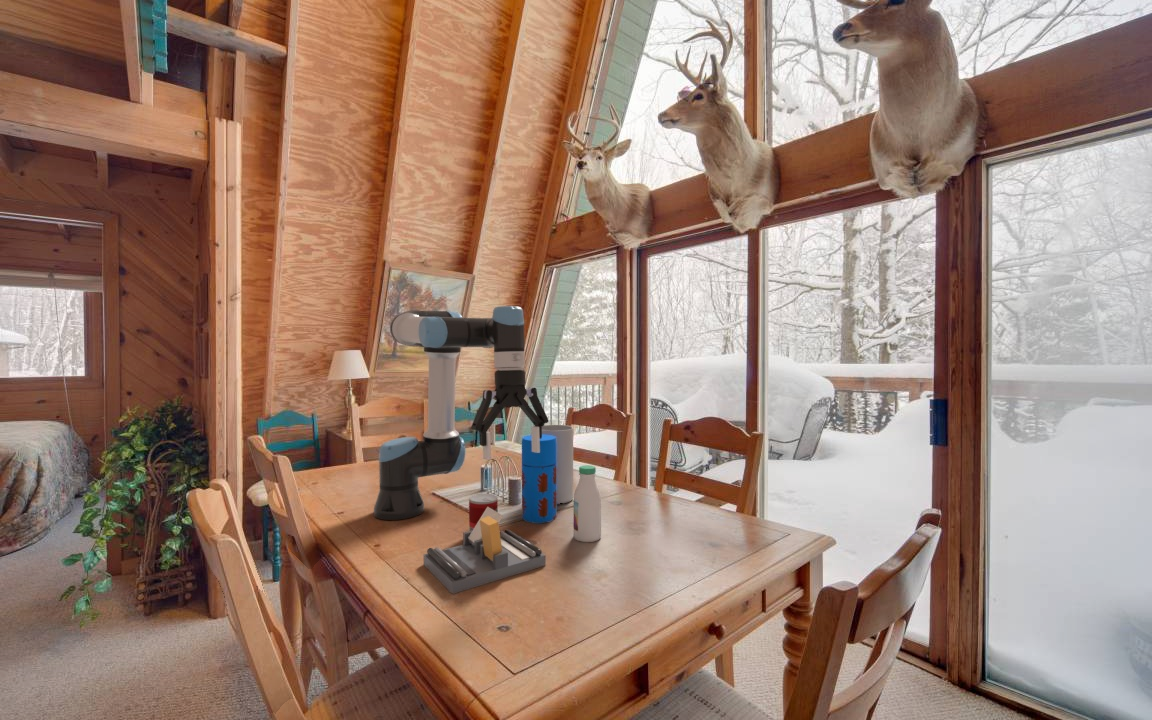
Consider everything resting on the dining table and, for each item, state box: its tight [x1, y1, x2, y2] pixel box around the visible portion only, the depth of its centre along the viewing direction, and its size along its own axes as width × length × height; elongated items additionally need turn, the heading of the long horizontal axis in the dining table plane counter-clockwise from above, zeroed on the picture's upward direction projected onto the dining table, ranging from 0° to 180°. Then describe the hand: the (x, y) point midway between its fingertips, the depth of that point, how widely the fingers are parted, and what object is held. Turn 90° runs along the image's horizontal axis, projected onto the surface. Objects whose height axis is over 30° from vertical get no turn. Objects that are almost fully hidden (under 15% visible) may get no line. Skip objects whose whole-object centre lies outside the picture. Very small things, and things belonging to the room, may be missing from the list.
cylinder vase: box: [542, 424, 574, 505], centre depth 176 cm, size 12×12×25 cm
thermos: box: [521, 434, 558, 524], centre depth 158 cm, size 11×11×25 cm
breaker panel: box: [423, 528, 547, 595], centre depth 125 cm, size 18×24×6 cm
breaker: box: [468, 507, 504, 547], centre depth 130 cm, size 5×2×10 cm
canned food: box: [468, 493, 499, 531], centre depth 143 cm, size 8×8×11 cm
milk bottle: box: [573, 464, 602, 543], centre depth 142 cm, size 8×8×20 cm
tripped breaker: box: [480, 516, 502, 561], centre depth 120 cm, size 5×2×10 cm, turn 36°
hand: (512, 455), depth 125 cm, fingers open, 13 cm apart
